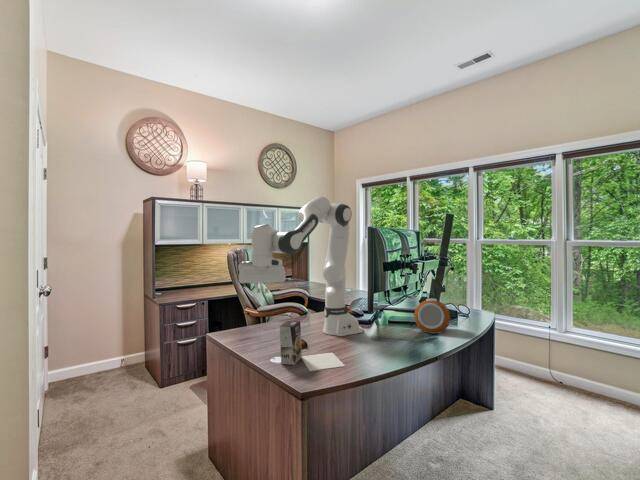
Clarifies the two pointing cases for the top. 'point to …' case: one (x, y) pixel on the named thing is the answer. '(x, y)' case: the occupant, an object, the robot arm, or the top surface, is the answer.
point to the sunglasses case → (303, 344)
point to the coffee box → (290, 342)
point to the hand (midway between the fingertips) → (262, 292)
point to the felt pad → (322, 361)
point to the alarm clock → (432, 316)
